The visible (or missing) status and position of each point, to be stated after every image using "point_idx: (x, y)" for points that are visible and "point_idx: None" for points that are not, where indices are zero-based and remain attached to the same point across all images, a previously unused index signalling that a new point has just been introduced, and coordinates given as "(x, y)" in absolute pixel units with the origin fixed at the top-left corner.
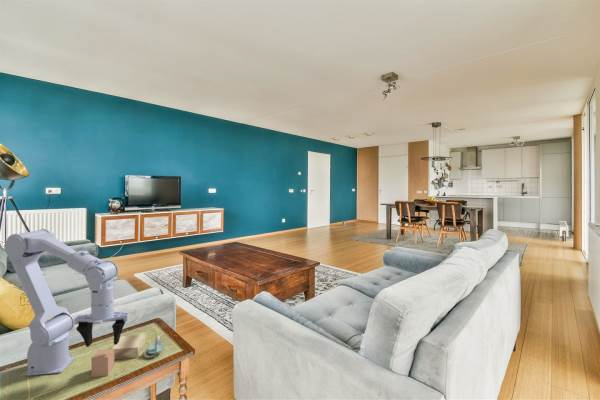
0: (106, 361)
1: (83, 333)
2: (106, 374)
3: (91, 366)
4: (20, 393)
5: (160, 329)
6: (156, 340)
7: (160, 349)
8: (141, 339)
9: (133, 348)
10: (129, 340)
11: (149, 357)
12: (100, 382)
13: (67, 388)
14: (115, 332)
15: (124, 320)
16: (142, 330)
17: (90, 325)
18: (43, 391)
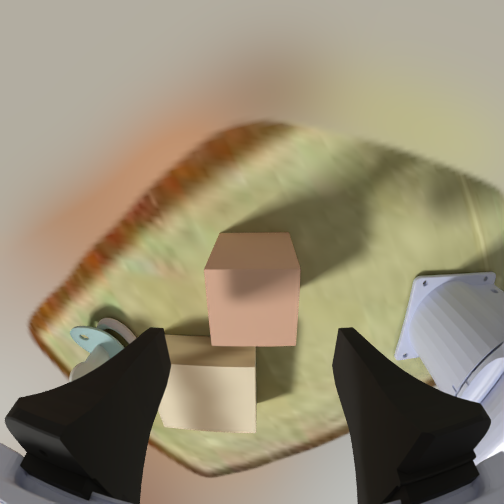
0: (215, 258)
1: (410, 394)
2: (225, 234)
3: (294, 250)
4: (482, 185)
5: (166, 446)
6: (74, 371)
7: (90, 351)
8: (160, 405)
9: None
10: (206, 408)
11: (106, 318)
12: (231, 189)
13: (356, 172)
14: (98, 385)
15: (9, 457)
16: (222, 453)
17: (371, 475)
18: (429, 175)
